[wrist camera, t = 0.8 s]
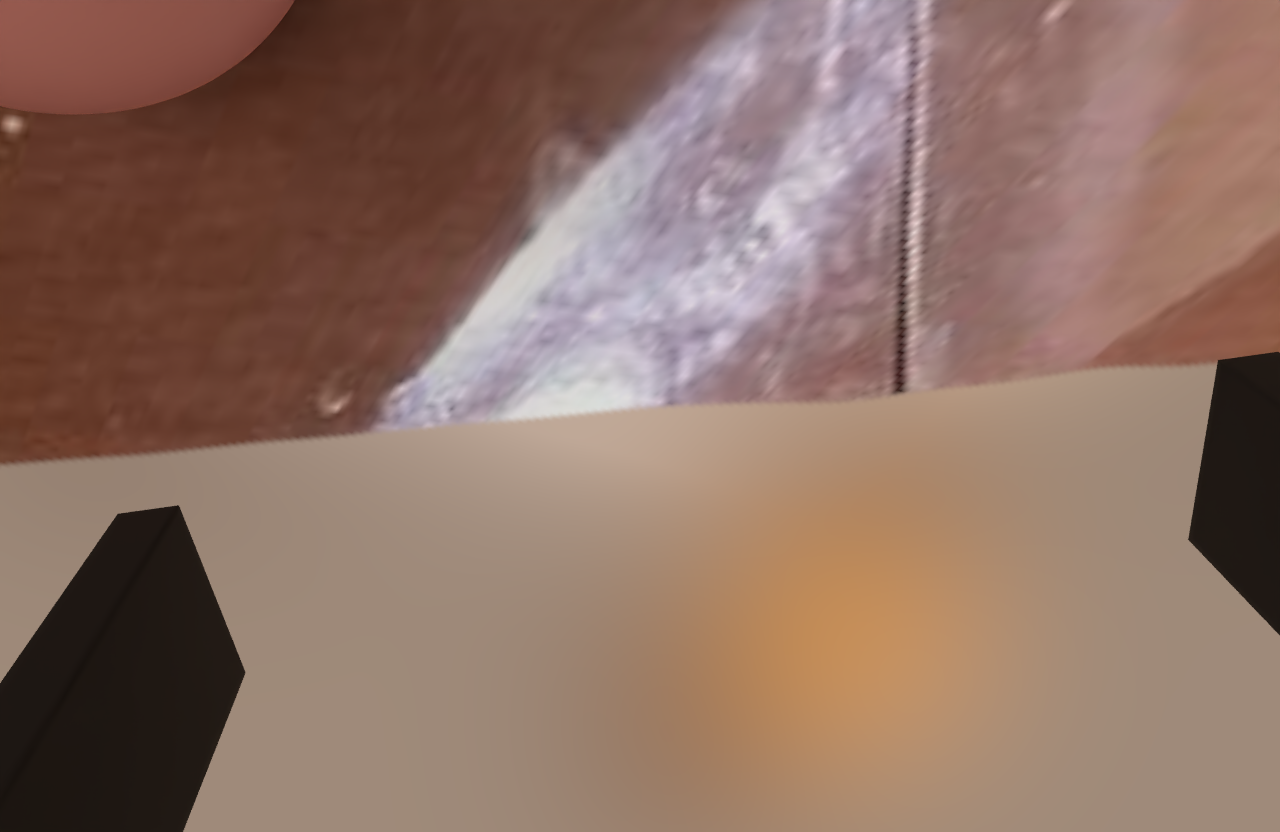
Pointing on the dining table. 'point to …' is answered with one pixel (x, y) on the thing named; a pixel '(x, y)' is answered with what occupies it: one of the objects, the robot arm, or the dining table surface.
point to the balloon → (122, 50)
